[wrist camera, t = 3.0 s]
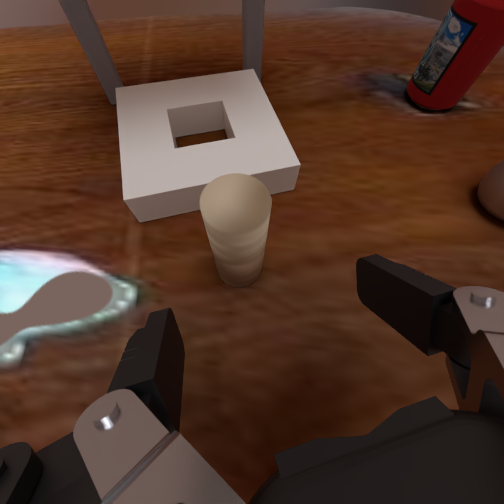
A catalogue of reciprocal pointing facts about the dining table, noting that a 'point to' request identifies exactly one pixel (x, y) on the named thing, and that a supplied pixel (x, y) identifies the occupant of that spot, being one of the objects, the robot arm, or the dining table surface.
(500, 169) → the plastic bottle
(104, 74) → the two-legged shelf table
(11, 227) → the dining table surface
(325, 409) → the dining table surface
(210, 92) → the socket
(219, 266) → the peg
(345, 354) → the dining table surface
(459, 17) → the beverage can
